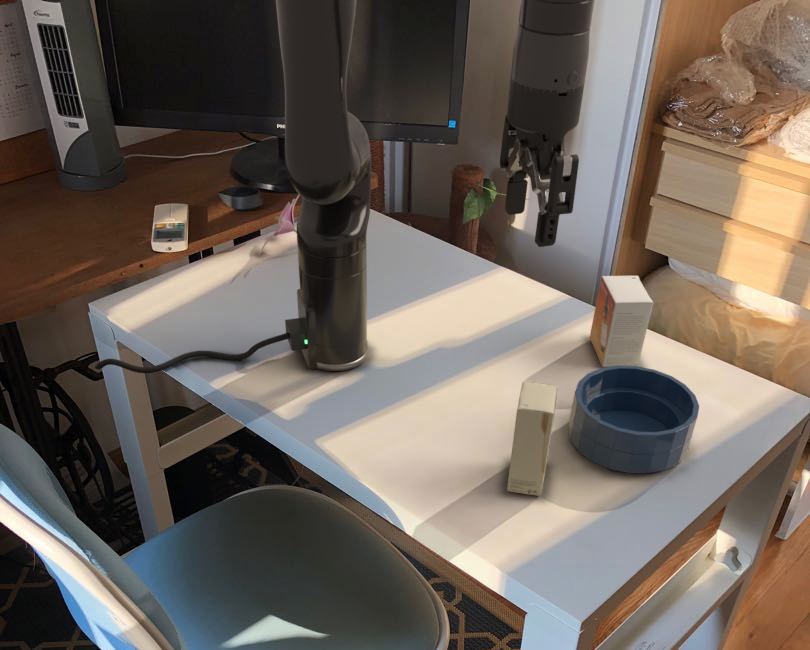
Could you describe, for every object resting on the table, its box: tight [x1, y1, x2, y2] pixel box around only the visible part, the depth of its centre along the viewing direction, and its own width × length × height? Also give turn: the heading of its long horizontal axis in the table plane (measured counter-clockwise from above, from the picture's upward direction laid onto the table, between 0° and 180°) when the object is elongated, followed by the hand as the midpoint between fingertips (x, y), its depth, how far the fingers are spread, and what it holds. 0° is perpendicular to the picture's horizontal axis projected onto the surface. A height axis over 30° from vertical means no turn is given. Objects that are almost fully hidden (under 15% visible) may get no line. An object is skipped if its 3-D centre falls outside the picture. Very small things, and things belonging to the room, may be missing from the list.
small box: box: [589, 275, 654, 368], centre depth 132 cm, size 8×6×10 cm
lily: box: [258, 194, 301, 255], centre depth 156 cm, size 12×12×10 cm
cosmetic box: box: [506, 380, 559, 497], centre depth 109 cm, size 6×4×12 cm
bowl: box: [567, 365, 700, 474], centre depth 118 cm, size 15×15×6 cm
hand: (529, 228), depth 104 cm, fingers open, 8 cm apart
